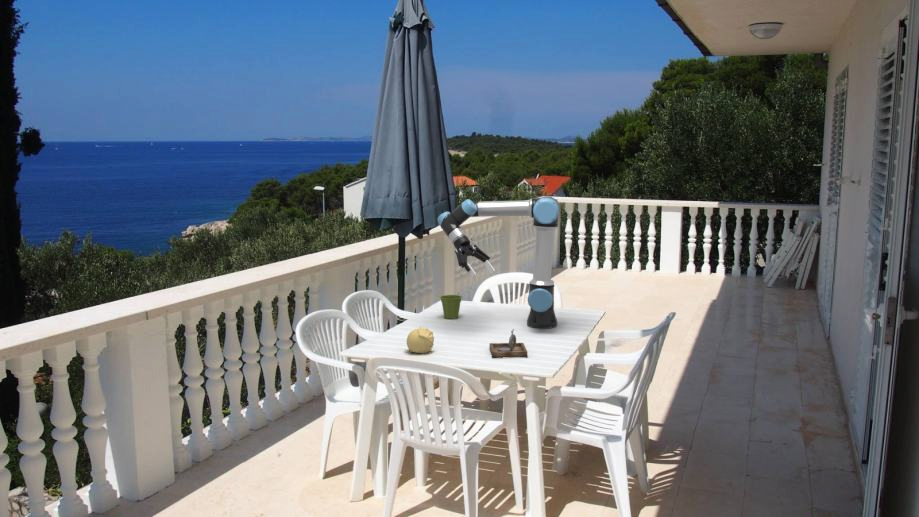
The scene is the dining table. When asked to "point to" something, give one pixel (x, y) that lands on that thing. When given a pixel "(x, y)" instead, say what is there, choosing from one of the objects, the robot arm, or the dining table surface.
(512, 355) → the walnut tray
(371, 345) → the dining table surface
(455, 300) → the plant pot
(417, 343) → the yellow lumpy ball
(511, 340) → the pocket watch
